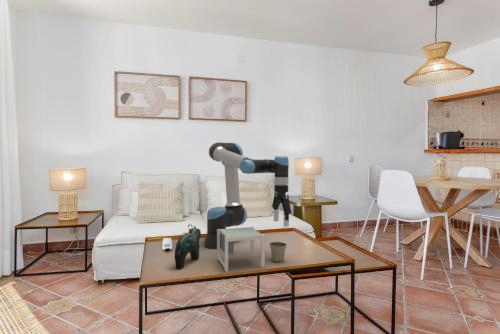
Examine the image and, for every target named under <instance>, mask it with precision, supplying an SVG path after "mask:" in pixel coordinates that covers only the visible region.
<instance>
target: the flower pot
mask: <svg viewBox="0 0 500 334" xmlns="http://www.w3.org/2000/svg"><path fill="white" fill-rule="evenodd" d="M268 244H269V248H270V252H271V253H270V255H271V260H272V261H273V262H276V263H278V262H283V261H284V260H285V252H286V248H287V245H288V244H287V243H285V242H282V241H273V242H270V243H268Z"/></svg>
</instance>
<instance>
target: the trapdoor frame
mask: <svg viewBox="0 0 500 334" xmlns="http://www.w3.org/2000/svg"><path fill="white" fill-rule="evenodd" d="M244 228H253V229H255V227H254V226H250V227H249V226H248V227H235V228H233V227H232V228H231V227H230V228H226V229H217V249H216V261H219V262H220V263H221V266H222V267H223V268H224V272H225V271H226V272H229V254H228V242H231V241H233V242H240V241H241V242H242V241H250V246H249V247H250V255H249V256H250V258H253V257H255V256H254V252H255V251H254V247H255V246H254V245H255V244H254V243H255V240H260V241H261V242H260V245H261V246H260V247H261V248H260V249H261V250H260V254H261V255H260V257H261V258H260V267H261V268H265V266H266V264H265V262H266V261H265V260H266V258H265V257H266V255H265V254H266V252H265V251H266V248H265V247H266V245H265V244H266V242H265V241H266V234H264V233H263V234H261V233H260V234H261V235H248V236H235V237H225V253H224V260H223V259H222V258H221V248H220V233H221V232H220V230H229V229H244Z"/></svg>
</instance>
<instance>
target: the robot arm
mask: <svg viewBox="0 0 500 334" xmlns="http://www.w3.org/2000/svg"><path fill="white" fill-rule="evenodd" d="M208 149H209V150H208V156H209V157H210V158H211V160H213V161H215V162H217V163H221V164H222V165H223V166H224V179H225V193H226V194H225V195H226V203H225V205H224V206H214V207H212V208H209V209H208V210H207V212H206V213H207V214H206V226H207V227H206V236H205V239H204V243H203V246H204V247H205V248H207V249H213V250H215V249H216V250H217V229H227V228H231V227H238V226H241V225H244V223H246V221H247V218H248V213H247V212H248V211H247V209H246V208H245V207H244V206H243V203H242V202H241V198H240V180H239V170H240V171H241V173H243V174H247V175H250V174H253V175H254V174H274V176H273V178H274V180H273V182H274V183H273V184H274V187H273V188H274V189H273V191H274V192H273V193H274V194H273V201H272V204H271V208H272V209H273V222H279V219H280V216H279V215H280V213H279V211H280V210H279V209H280V205H281V206H282V209H283V227H290V214H292V210H291V204H290V200H289V199H290V198H289V197H290V196H289V194H287V193H288V192H289V185H288V184H289V180H290V178H289V168H290V167H289V166H290V164H289V163H290V162H289V157H288V156H286V155H285V156H284V155H283V156H282V155H276V156H274V159H269V158H268V159H265V158H264V159H253V158H250V157H246V156H245V155H244V154H243V153H244V152H243V148H242V146H241V145H240V144H239V143H237V142H215V143H213V144H211V145H210V147H209V148H208ZM220 249H221V233H220Z"/></svg>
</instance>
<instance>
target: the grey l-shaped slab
mask: <svg viewBox="0 0 500 334" xmlns="http://www.w3.org/2000/svg"><path fill="white" fill-rule="evenodd" d="M243 228H244V229H231V228H228V229H229V230H220V232H221V248H220V250H221V251H222V252H223V254H225V237H235V236H248V235H261V232H259V231H258V230H256V229H255V228H254V229H253V228H245V227H243ZM233 254H234V241H231V242H228V255H233Z"/></svg>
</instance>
